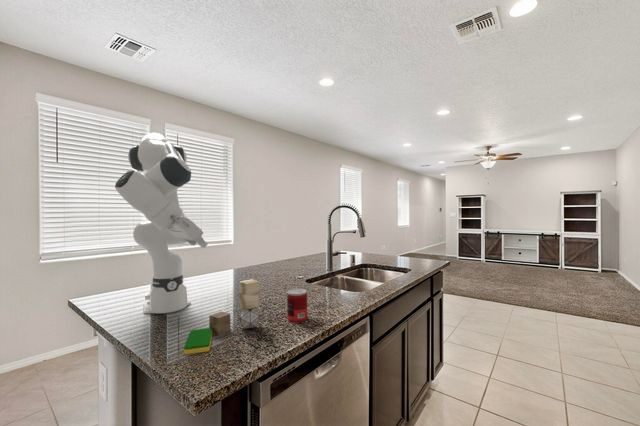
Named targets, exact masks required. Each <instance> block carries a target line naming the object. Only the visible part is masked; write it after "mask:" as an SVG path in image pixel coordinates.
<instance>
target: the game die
mask: <svg viewBox="0 0 640 426" xmlns="http://www.w3.org/2000/svg"><path fill="white" fill-rule="evenodd" d="M240 312H241V313H240V315H239V317H238V318H237V320H239V322H240V324H241V326H242V330H241V331H242V332H243V331H244V330H245V329H252V328H255V329H256V330H258V329H259V328H258V327H257V326H258V324H259V320H260V318H261V317H262V316H263V315H262V314H260V313H259V311H258V309H257V307H255V308H251V309H247V310H246V309H244V308H242V309H241V311H240Z"/></svg>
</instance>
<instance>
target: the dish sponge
mask: <svg viewBox="0 0 640 426" xmlns="http://www.w3.org/2000/svg"><path fill="white" fill-rule="evenodd" d="M212 329H213V328H209V327H208V328H207V327H206V328H199V329H191V330H190V331H189V332H188V333H189V334H188V336H187V338H186V342H185V344H184V347H183V355H190V354H191V355H192V354H198V353H204V352H210V350H211V345H212V344H211V343H212V339H213V330H212Z"/></svg>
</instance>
